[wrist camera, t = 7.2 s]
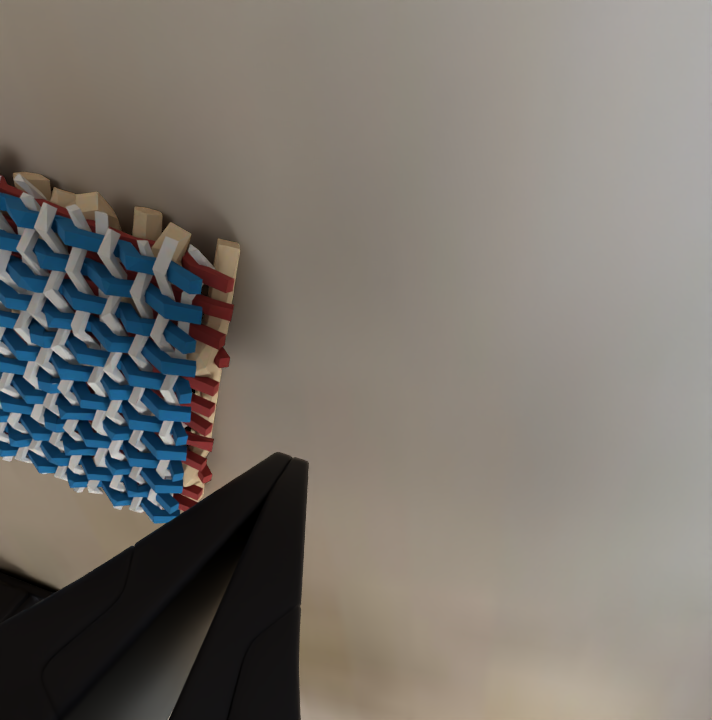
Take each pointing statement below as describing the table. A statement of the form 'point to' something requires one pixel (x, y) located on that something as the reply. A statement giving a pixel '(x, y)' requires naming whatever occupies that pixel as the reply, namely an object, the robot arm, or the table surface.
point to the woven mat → (109, 346)
